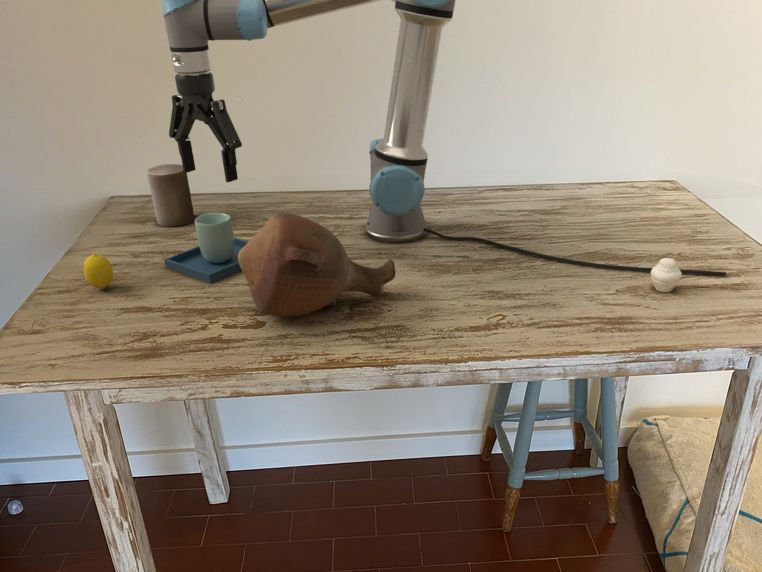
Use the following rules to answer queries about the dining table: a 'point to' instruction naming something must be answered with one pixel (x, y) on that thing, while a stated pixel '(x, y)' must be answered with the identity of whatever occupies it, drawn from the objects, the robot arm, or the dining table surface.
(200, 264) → the tray
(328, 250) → the jug
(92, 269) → the lemon
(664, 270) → the muffin
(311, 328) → the dining table surface
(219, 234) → the cup
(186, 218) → the pillar candle
